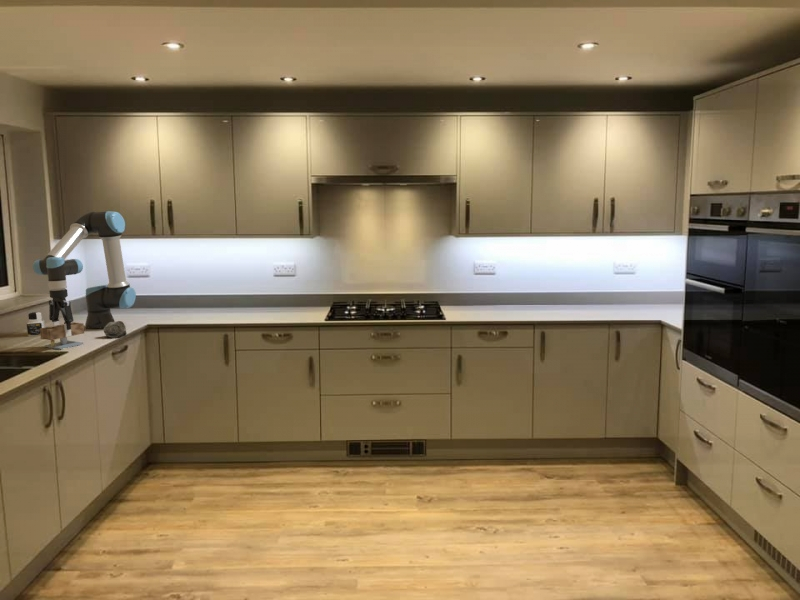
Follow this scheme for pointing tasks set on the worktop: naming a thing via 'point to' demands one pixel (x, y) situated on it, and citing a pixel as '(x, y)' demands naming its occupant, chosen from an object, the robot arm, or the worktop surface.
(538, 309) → the worktop surface
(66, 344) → the post block
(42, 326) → the medicine bottle
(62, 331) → the brown textured block
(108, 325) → the fossil
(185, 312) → the worktop surface
